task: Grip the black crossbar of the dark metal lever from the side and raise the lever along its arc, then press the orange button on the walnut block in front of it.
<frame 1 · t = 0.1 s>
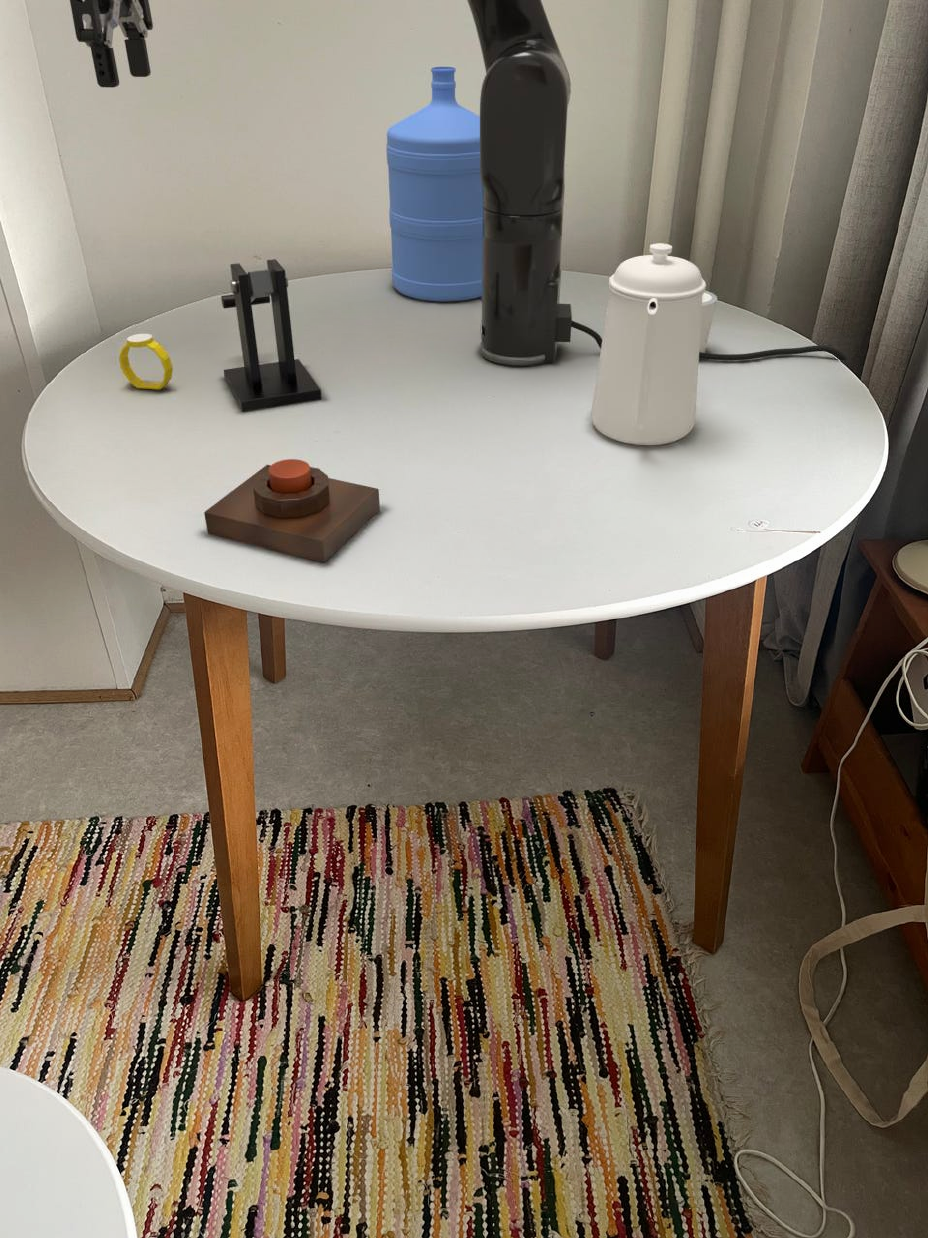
hand: (125, 81, 112), 29 cm above the table, tool pointing down, fingers open, 8 cm apart
water jug: (446, 287, 145), on the table
white cup: (681, 353, 124), on the table
button: (290, 477, 88), point 4 cm above the table, slide at 0.1 cm
coffeepot: (641, 430, 106), on the table
bracket: (272, 389, 115), on the table
button block: (295, 521, 90), on the table
lever: (252, 291, 113), point 10 cm above the table, hinge at -25.0°
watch: (151, 389, 115), on the table
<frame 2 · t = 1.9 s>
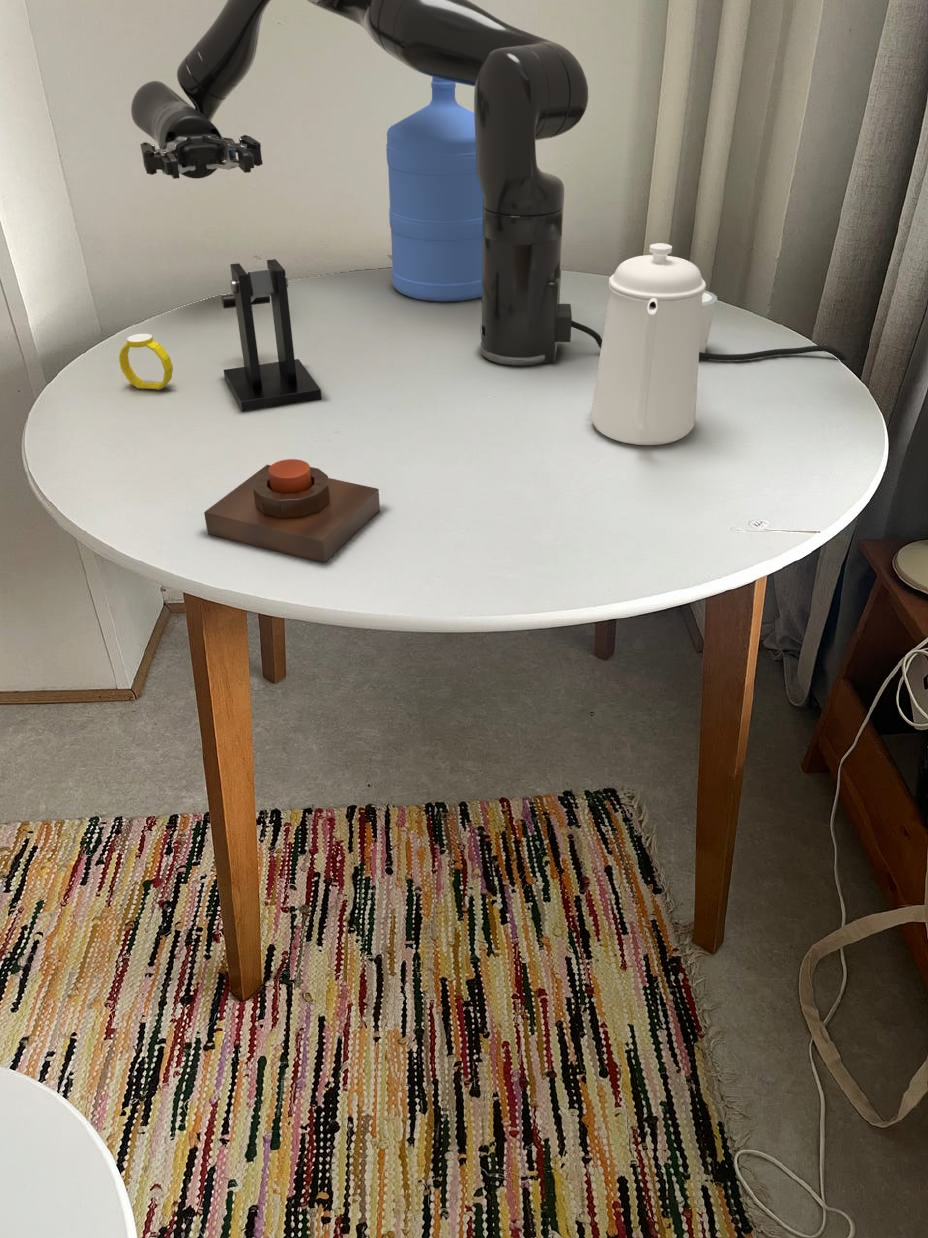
hand: (211, 166, 119), 20 cm above the table, tool horizontal, fingers open, 8 cm apart
nothing on the table moved.
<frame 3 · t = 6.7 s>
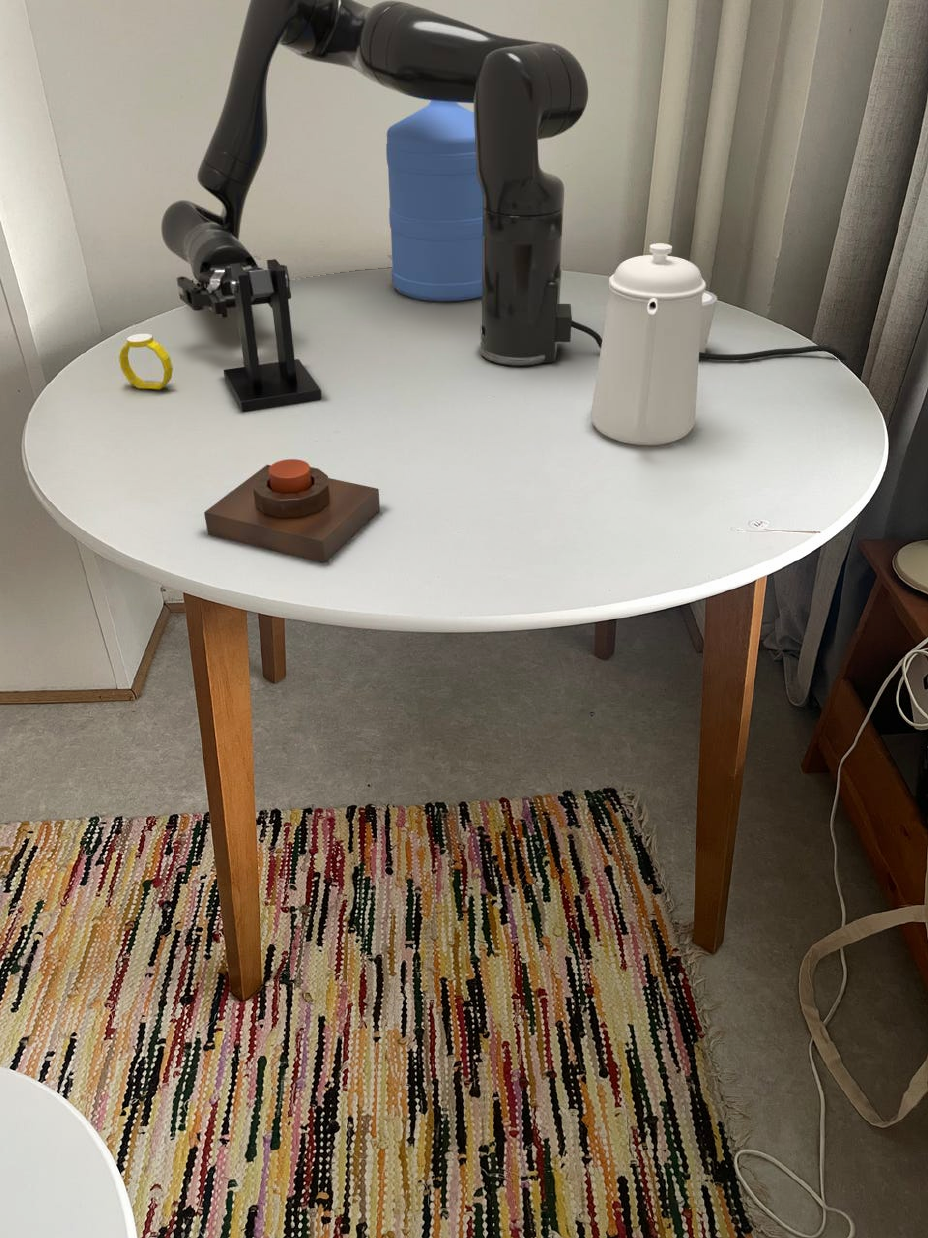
hand: (250, 305, 116), 7 cm above the table, tool horizontal, fingers closed on lever, 5 cm apart
lever: (252, 291, 113), point 10 cm above the table, hinge at -25.0°, touching gripper
everything else where it was.
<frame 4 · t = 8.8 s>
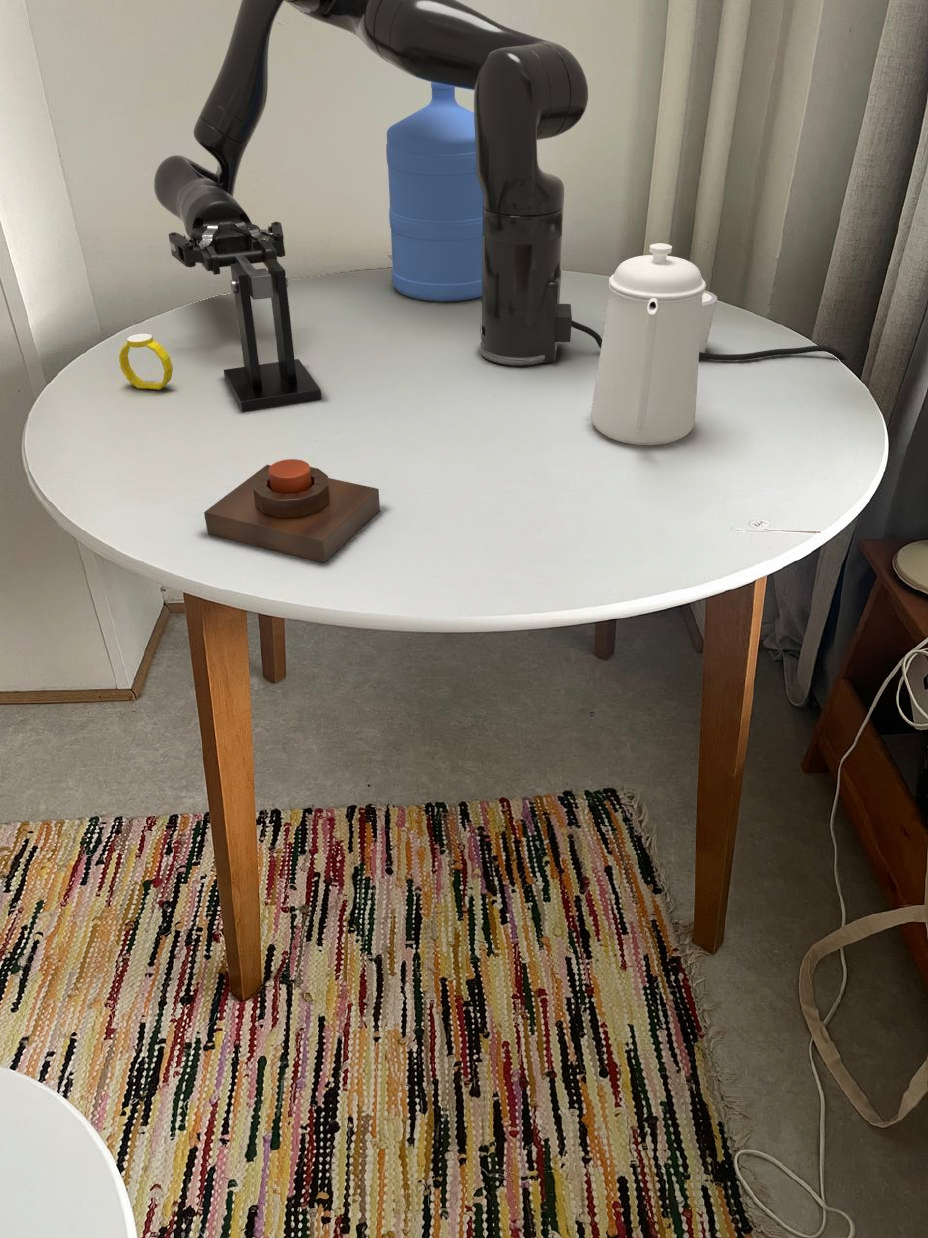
hand: (243, 262, 114), 12 cm above the table, tool horizontal, fingers closed on lever, 5 cm apart
lever: (249, 271, 112), point 12 cm above the table, hinge at -1.0°, touching gripper
everything else where it was.
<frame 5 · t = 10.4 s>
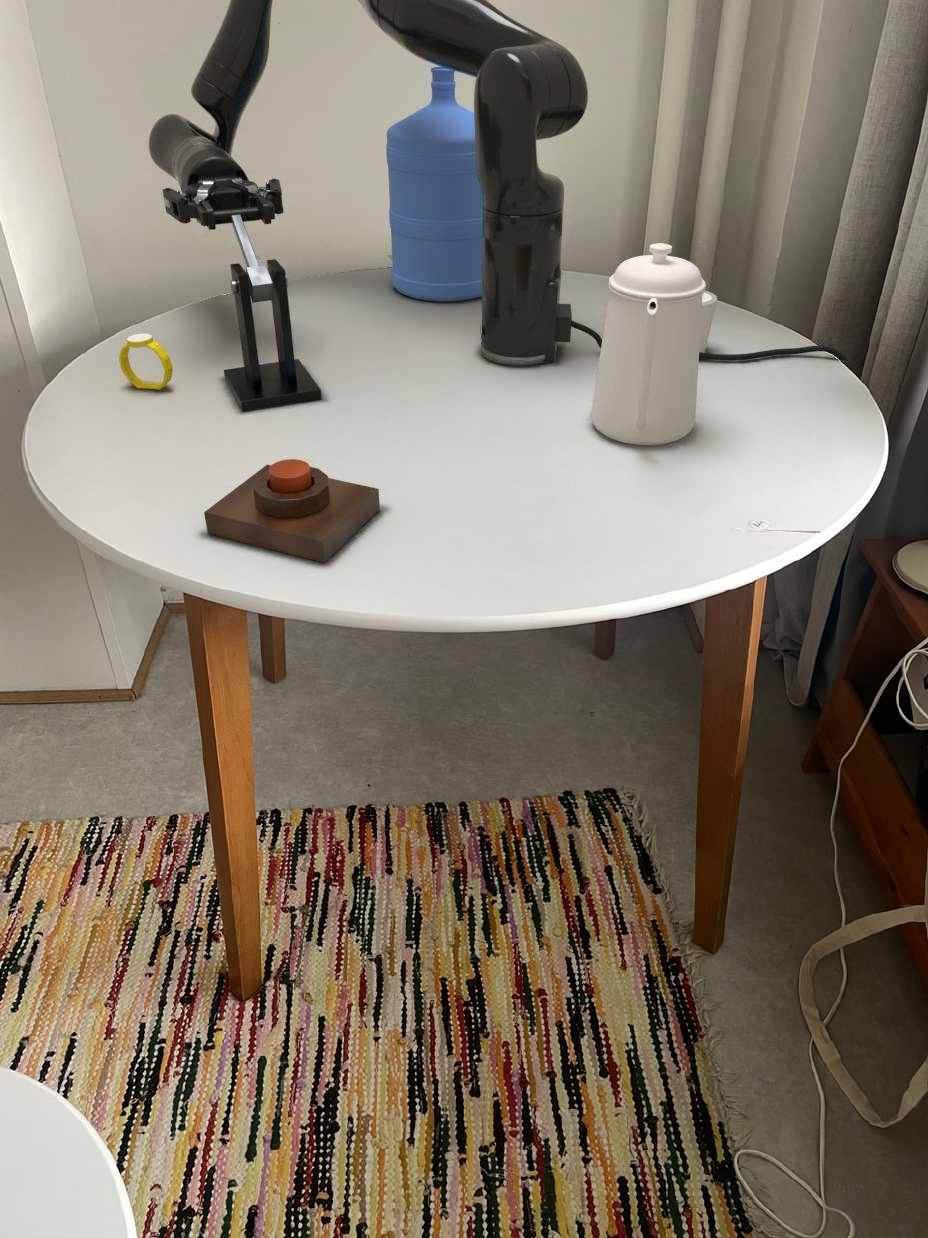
hand: (240, 217, 110), 17 cm above the table, tool horizontal, fingers closed on lever, 5 cm apart
lever: (247, 251, 110), point 14 cm above the table, hinge at 25.9°, touching gripper
everything else where it was.
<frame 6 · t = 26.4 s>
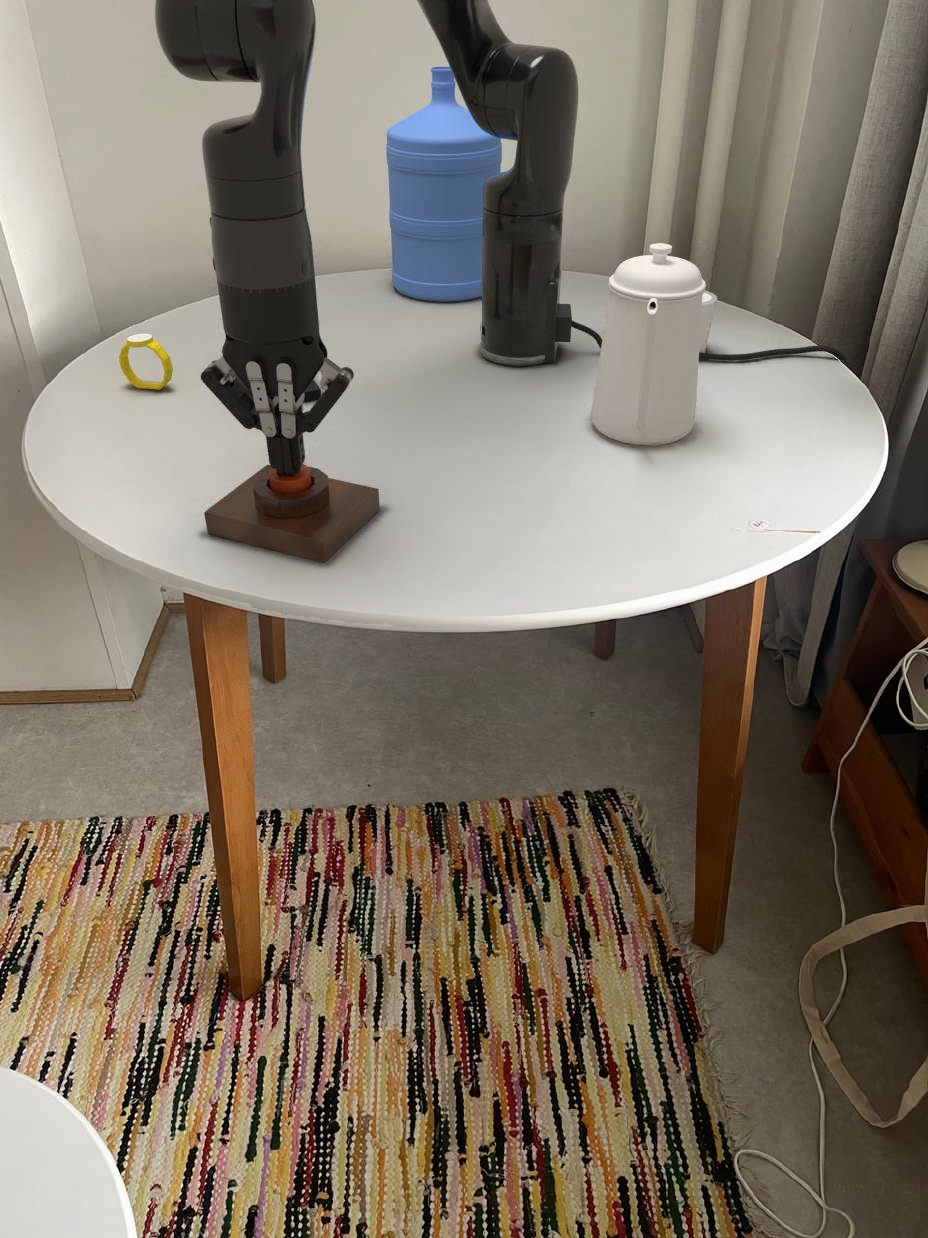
hand: (288, 471, 87), 5 cm above the table, tool pointing down, fingers closed
button: (290, 480, 88), point 4 cm above the table, slide at -0.2 cm, touching gripper
lever: (247, 253, 110), point 14 cm above the table, hinge at 21.7°
everything else where it was.
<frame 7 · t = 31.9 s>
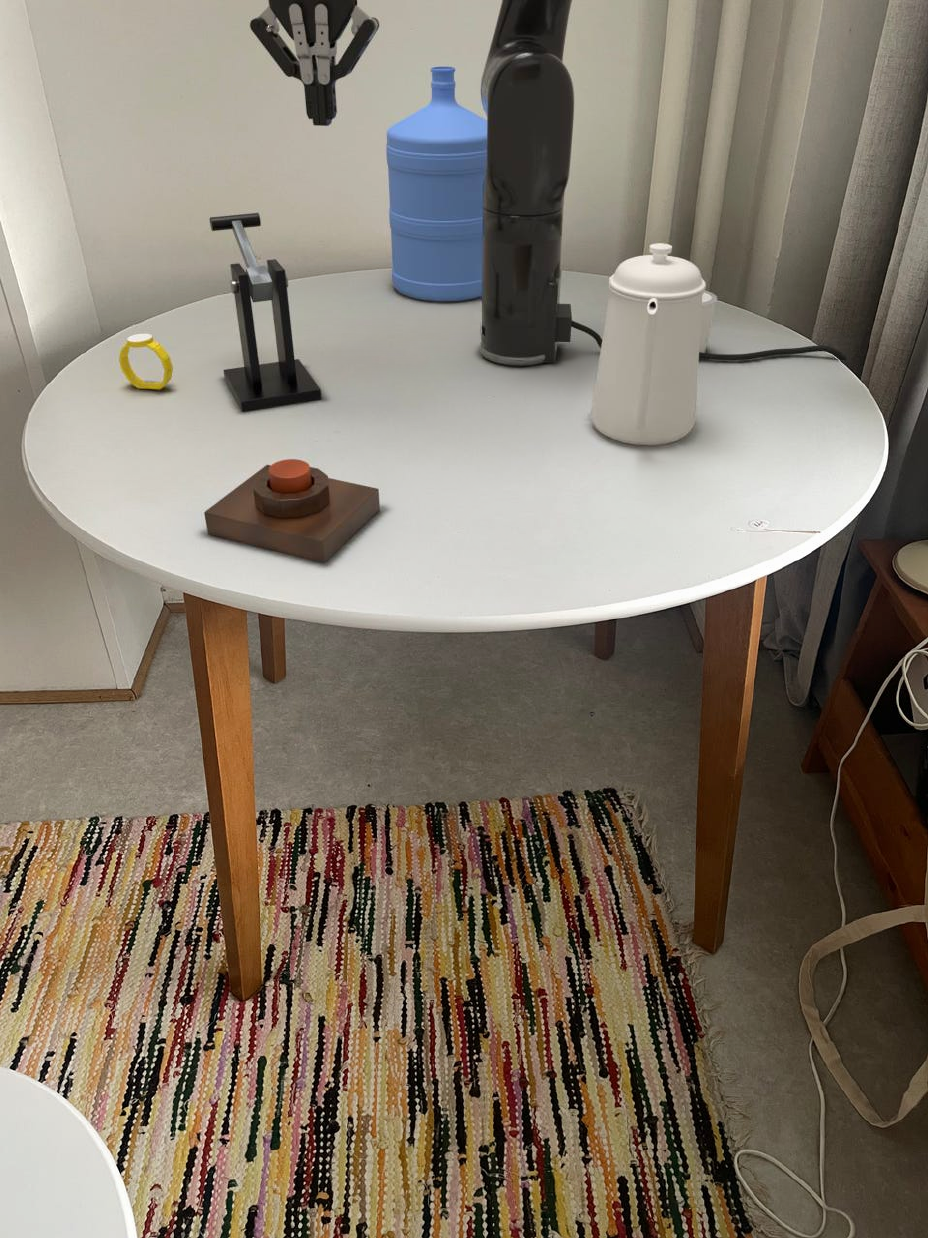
hand: (322, 123, 102), 27 cm above the table, tool pointing down, fingers closed
button: (290, 477, 88), point 4 cm above the table, slide at 0.1 cm
everything else where it was.
at the end: lever at +22° (first picture: -25°); button pushed in 1.1 cm at the most during the clip, back to where it started at the end; button slide at 0.1 cm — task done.
